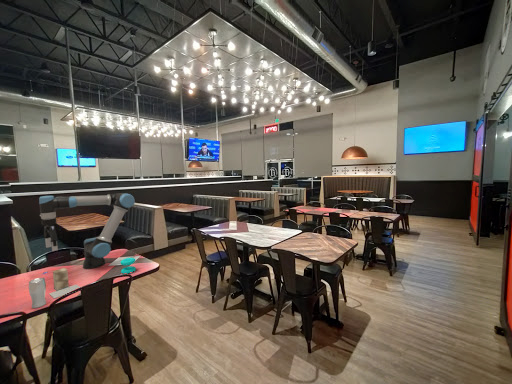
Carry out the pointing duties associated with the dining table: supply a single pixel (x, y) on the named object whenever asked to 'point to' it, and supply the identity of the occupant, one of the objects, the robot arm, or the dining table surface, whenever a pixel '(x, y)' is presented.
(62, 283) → the maple block
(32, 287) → the beer glass
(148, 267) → the dining table surface
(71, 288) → the grey mat
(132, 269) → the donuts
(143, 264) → the dining table surface
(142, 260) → the dining table surface
